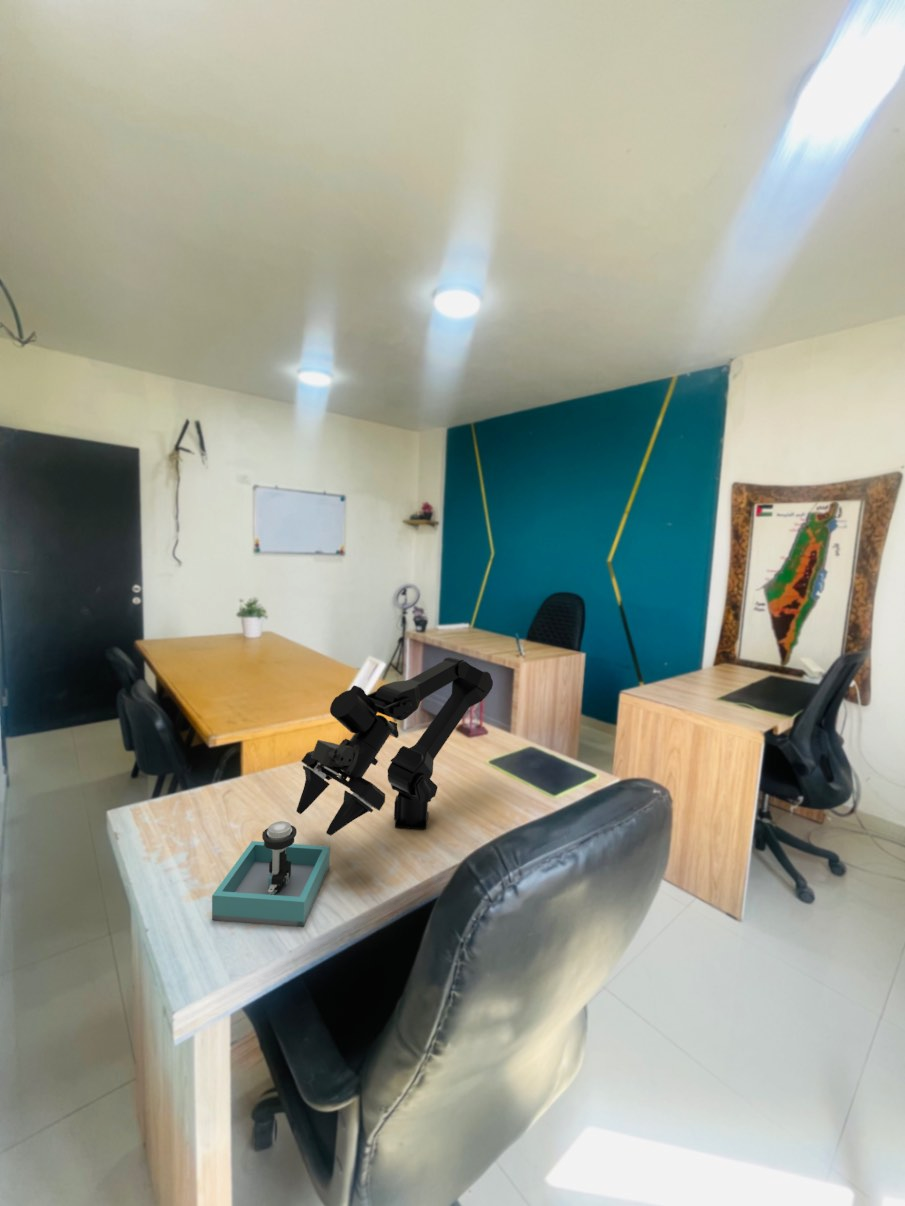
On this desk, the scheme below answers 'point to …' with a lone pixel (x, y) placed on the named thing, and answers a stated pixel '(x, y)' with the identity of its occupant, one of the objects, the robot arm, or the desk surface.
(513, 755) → the desk surface
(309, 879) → the tray
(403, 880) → the desk surface
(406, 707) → the robot arm
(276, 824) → the push button
